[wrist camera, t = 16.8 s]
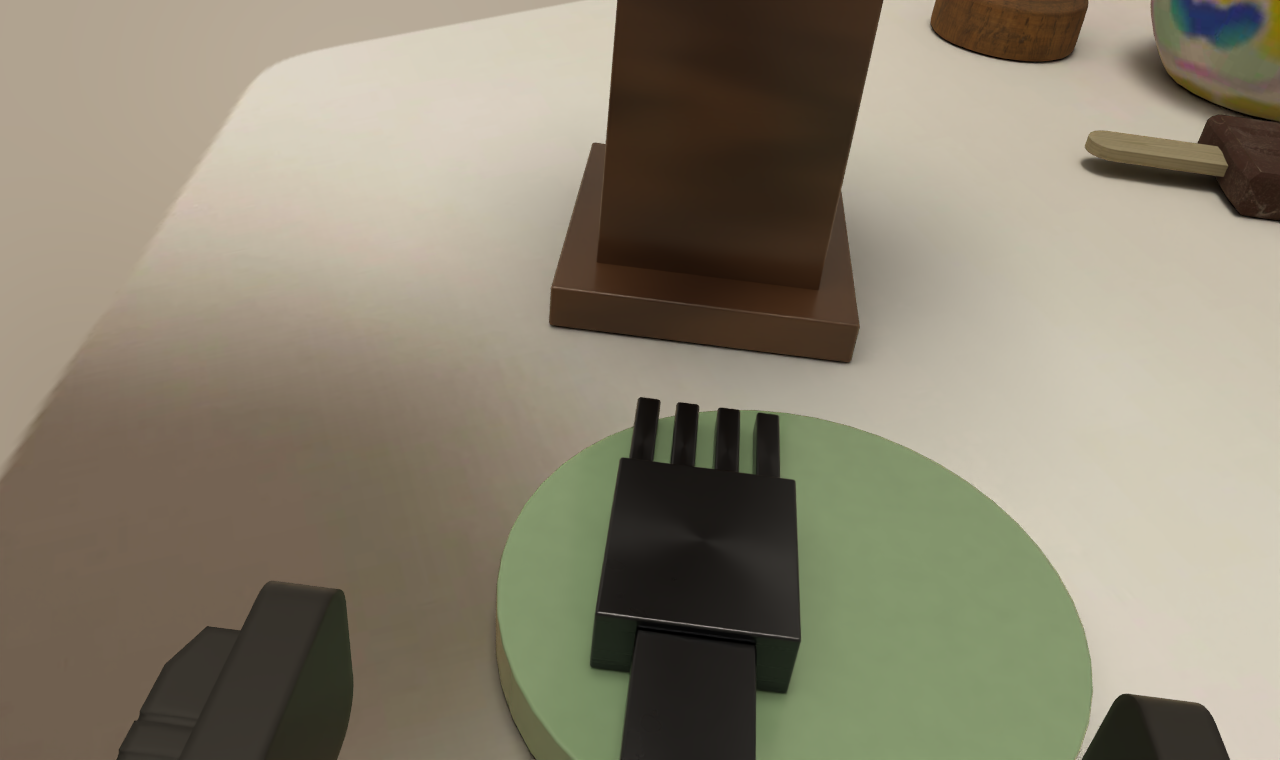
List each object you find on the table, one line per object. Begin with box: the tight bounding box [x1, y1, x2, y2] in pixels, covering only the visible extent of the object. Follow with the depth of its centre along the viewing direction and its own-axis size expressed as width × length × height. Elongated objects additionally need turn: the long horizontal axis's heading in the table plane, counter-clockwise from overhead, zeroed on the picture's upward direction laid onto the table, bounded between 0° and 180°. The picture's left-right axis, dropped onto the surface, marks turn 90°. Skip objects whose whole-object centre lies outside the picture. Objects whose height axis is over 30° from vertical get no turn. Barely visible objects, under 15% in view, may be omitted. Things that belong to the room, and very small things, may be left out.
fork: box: [590, 397, 801, 760], centre depth 17 cm, size 3×18×1 cm, turn 175°
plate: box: [496, 410, 1093, 760], centre depth 21 cm, size 11×11×1 cm
